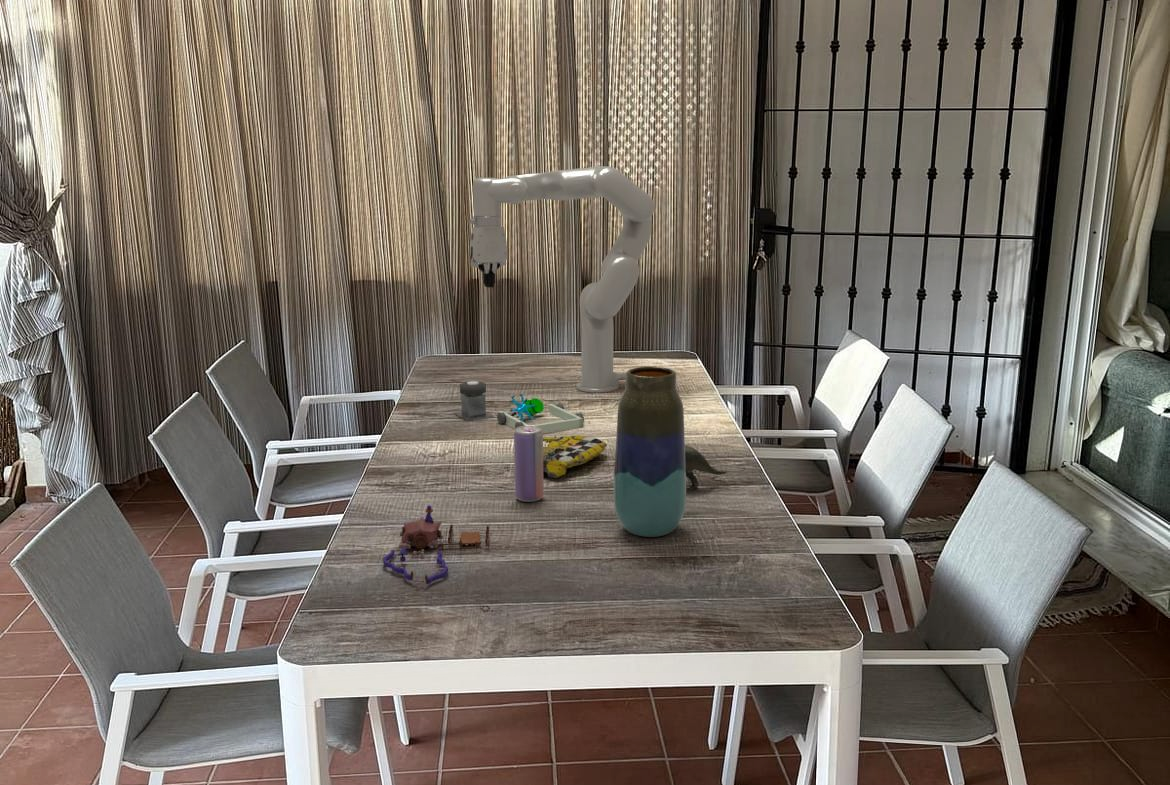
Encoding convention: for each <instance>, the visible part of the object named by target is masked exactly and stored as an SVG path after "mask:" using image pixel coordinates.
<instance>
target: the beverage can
mask: <svg viewBox="0 0 1170 785" xmlns="http://www.w3.org/2000/svg"><path fill="white" fill-rule="evenodd" d="M543 438H544V434H543V433H542V429H541V428H540V427H538V426H520V427H517V428H516V429H514V434H513V451H514V455H513V456H514V457H513V458H514V491H515V492H514V493H515V497H516V498H517V500H519V501H520V502H523V503H524V502H525V503H532V502H533V503H534V502H537V501H541V500H542V499H543V497H544V495H545V494H544V492H545V490H544V486H545V485H544V472H543V447H544V441H543Z"/></svg>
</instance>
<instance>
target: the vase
mask: <svg viewBox="0 0 1170 785" xmlns="http://www.w3.org/2000/svg"><path fill="white" fill-rule="evenodd" d="M625 373H626V379H625V389H624V390H623V393H622V396H621V398H620V399H619V402H618V405H617V406H618V408H617V420H616V421H617V422H616V438H615V456H614V474H613V505H614V512H615V514H616V515H615V516H616V517H617V519H618V521H619V523H620V525H622V527H623V528H624V529H625V530H626V531H627V532H628V533H630V534H632V535H635V536H639V537H645V538H646V537H647V538H652V537H653V538H655V537H662V536H665V535H668V534H670V533H672V532H673V531H674V530H675V529H676V528H677V527H678V525H679V524H680V523H681V521H682V519H683V517H684V514H685V510H686V504H687V477H686V463H685V445H686V439H685V438H686V437H685V413H684V412H685V411H684V403H683V400H682V399H681V395H680V394H679V392H678V390H677V372H676V371H675V370H674V369H671V368H668V367H661V366H660V367H659V366H639V367H633V368H631V369H628V370H626V372H625Z"/></svg>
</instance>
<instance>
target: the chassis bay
mask: <svg viewBox="0 0 1170 785" xmlns="http://www.w3.org/2000/svg"><path fill="white" fill-rule="evenodd" d="M547 406H548V408H547V409H548V411H547V412H548V413H549V414H551V415H552V416H555V417H557V418H560V419H562V420H558V421H550V422H546V423H545V422H544V423H537V424H533V425H532V424H531V425H530V424H528V423H526V422H522V421H521V419H518V418H517V417H516V416H511V414H509V413H507V412H505V411H503V410H499V411H497V415H496V418H497V423H498V424H499V425H503V424H504V425H506V426H509V427H510V428H512V429H514V430H515V429H516V428H517V427H520V426H538V427H540V428H541V429H542V433H543V435H544V434H545V433H546V434H549V433H551V432H552V433H558V432H563V430H564V431H567V430H573V429H574V430H575V429H580V428H584V422H585V418H584V415H583V413H581V412H578V413H575V414H574V413H572V412H570V411H568V410H565V406H564V404H562V403H560V404H556V405H555V404H553V403H548V405H547ZM557 431H558V432H557ZM546 434H545V435H546Z"/></svg>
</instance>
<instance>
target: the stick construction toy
mask: <svg viewBox="0 0 1170 785" xmlns="http://www.w3.org/2000/svg"><path fill="white" fill-rule="evenodd" d="M519 396H520V397H521V399H520V400H521V403H520V402H518V401H517V400H516V399H515V396H514V395H513V396H511V400H510V403H514V405H515V406H516V407H517V408H514V409H510V410H509V413H511V412H512V413H511V414H510V415H511V416H513V417H516V419H518V418H520V421H522V422H524V423H526V420H524V416H523V415H524V414H526V415H527V416H528V417H529V418H530V422H532V421H533V420H534V416H536V415H538V414H541V413H542V412H543V411H544V409H545V408H544V407H545V406H544V403H543V401H541V399H539V398H537V397H533V398H531V399H527V398H526V399H525V400H524V395H523V393H520V394H519Z"/></svg>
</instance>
